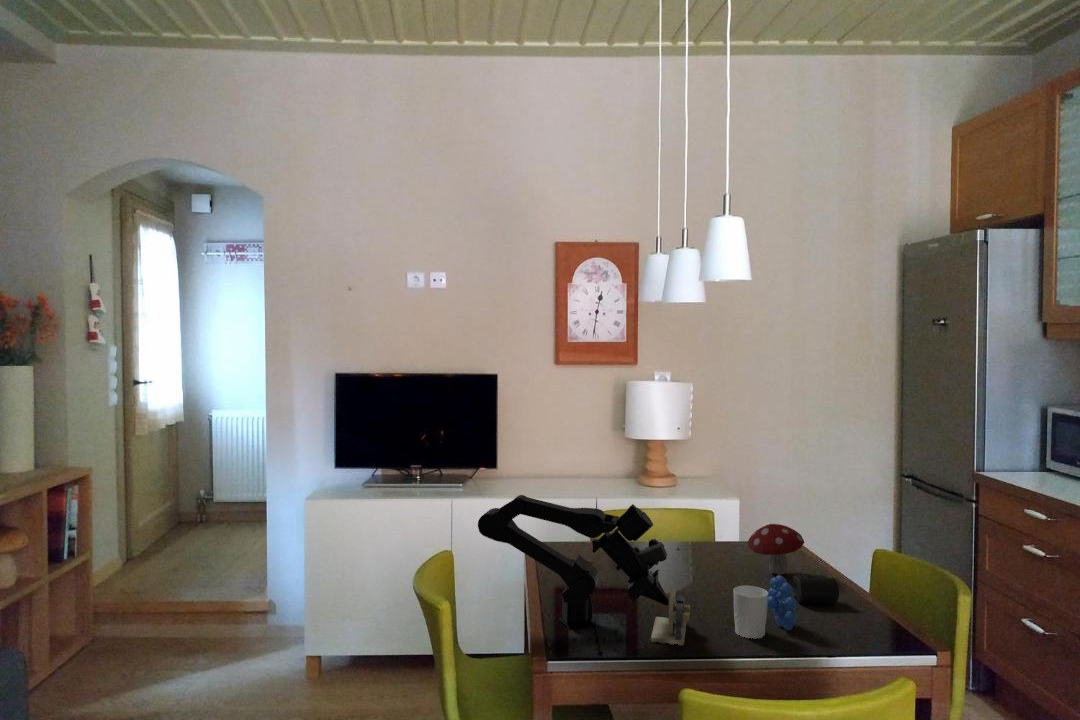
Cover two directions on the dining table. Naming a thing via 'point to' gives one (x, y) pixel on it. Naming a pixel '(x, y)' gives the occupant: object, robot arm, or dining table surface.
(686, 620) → the tan notched block
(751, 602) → the white cup
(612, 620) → the dining table surface
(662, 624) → the birch board
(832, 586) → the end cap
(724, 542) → the dining table surface
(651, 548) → the robot arm
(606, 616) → the dining table surface
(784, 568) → the decorative mushroom
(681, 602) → the grey two-prong bracket
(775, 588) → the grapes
